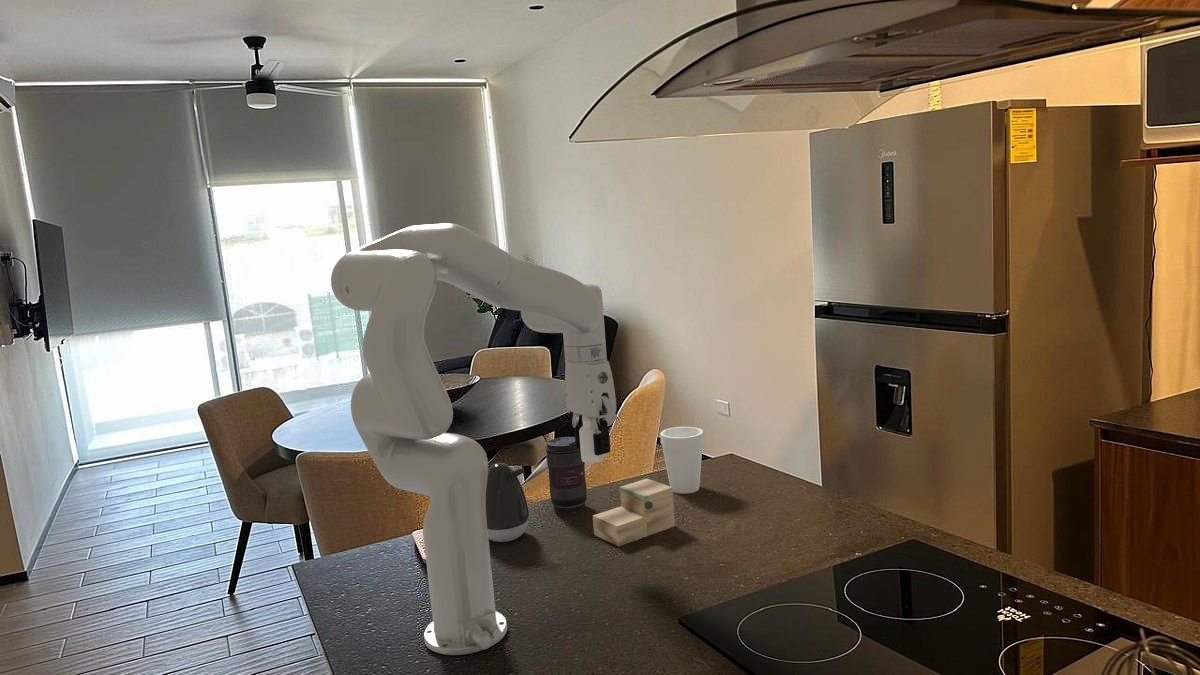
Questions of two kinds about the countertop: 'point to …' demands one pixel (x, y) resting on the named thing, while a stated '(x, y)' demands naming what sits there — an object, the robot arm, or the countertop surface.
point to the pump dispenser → (505, 504)
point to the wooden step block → (637, 513)
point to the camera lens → (566, 475)
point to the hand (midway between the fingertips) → (593, 449)
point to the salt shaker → (588, 441)
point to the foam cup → (683, 457)
